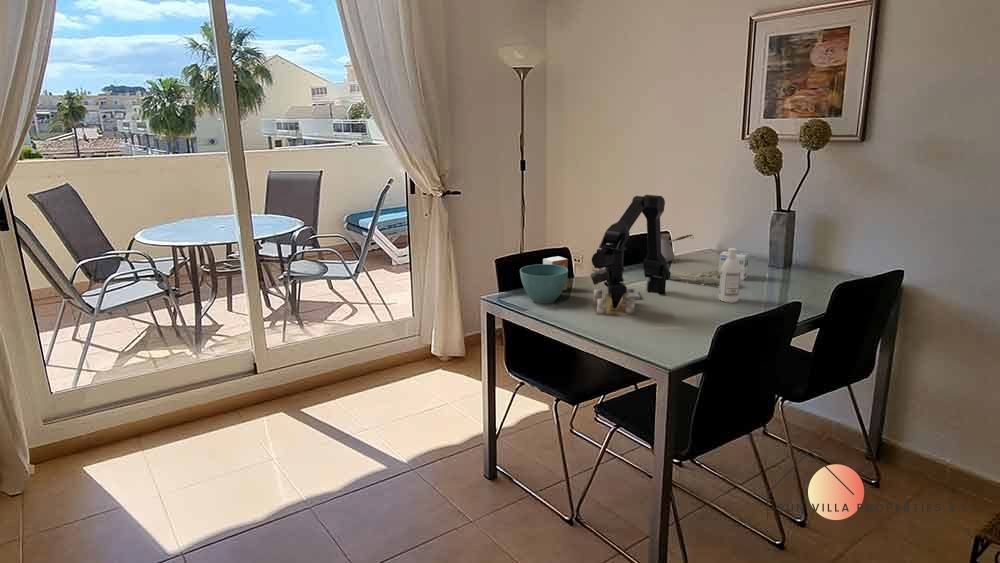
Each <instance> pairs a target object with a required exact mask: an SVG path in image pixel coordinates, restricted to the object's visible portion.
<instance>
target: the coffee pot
mask: <svg viewBox="0 0 1000 563" xmlns="http://www.w3.org/2000/svg"><path fill="white" fill-rule="evenodd" d="M670 237H671V234H669V233H663V232H662V233H661V254H662V255H663V257H664V258H665V260H666V262H667V263H670V262H671V261H672V260H673V259H674V258H675V253H674V250H673V247H672V245H671V243H673V242H676V241H679V240H684V239H686V238H687V239H688V238H689V237H690V239H691V240H693V239H694V235H693V234H686V235H683V236H680V237H676V238H675V239H674V238H673V239H671V240H670ZM669 261H670V262H669Z"/></svg>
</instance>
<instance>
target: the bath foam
mask: <svg viewBox="0 0 1000 563" xmlns="http://www.w3.org/2000/svg"><path fill="white" fill-rule="evenodd" d="M727 250H728V251H727V252H728V258H727V260H726V261H725V262H724V263H723V265H722V268H721V276H720V287H718V300H719V301H720V300H721V301H720V302H723V301H724V302H723V303H728V302H733V303H737V302H738V300H739V294H740V282H741V280H740V274H741V269H740V265H739V263H738V261H737V259H736V254H737V253H738V252H737V251H738V249H737V248H735V247H731V248H730V247H729V248H728V249H727Z"/></svg>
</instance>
